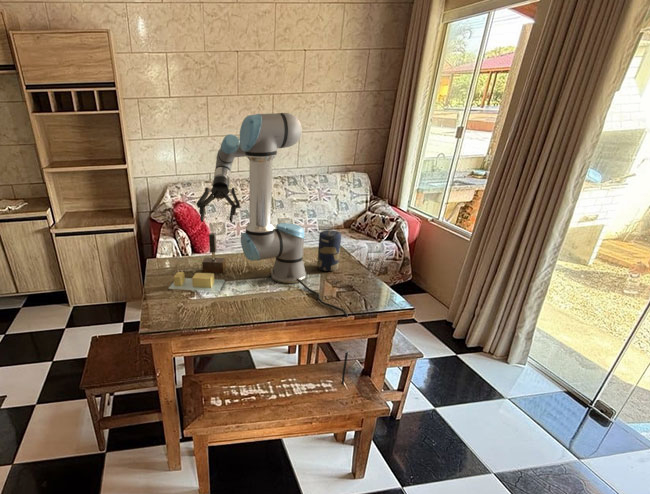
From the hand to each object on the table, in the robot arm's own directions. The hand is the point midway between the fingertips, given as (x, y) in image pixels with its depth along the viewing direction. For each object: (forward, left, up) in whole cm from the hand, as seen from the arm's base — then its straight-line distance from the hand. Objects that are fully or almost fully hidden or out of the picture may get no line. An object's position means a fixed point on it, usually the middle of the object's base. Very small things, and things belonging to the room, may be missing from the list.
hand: (216, 220), depth 184 cm
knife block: (-5, +6, -22) cm, 23 cm away
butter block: (-15, +19, -21) cm, 32 cm away
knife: (-5, +6, -21) cm, 22 cm away
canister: (-37, -35, -22) cm, 56 cm away
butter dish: (-13, +21, -22) cm, 33 cm away
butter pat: (-7, +26, -21) cm, 34 cm away
